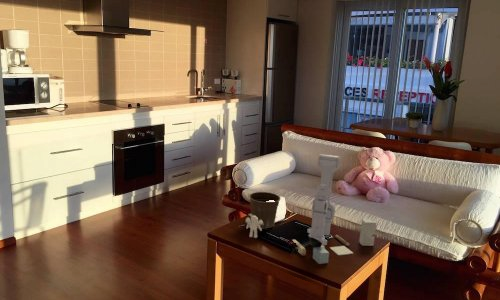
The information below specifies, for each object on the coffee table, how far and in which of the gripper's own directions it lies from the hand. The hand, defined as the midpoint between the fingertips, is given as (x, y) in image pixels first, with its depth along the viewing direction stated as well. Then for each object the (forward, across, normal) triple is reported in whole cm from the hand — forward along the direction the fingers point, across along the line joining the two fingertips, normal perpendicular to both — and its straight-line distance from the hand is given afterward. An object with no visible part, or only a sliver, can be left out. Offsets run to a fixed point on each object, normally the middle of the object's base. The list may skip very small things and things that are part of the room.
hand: (315, 253), depth 203 cm
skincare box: (+1, -6, +32) cm, 32 cm away
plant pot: (+1, -38, -10) cm, 40 cm away
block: (+1, +5, 0) cm, 5 cm away
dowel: (+1, -10, +21) cm, 24 cm away
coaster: (+1, -2, +15) cm, 15 cm away
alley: (+1, -7, 0) cm, 7 cm away
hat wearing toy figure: (+1, -26, -20) cm, 33 cm away
